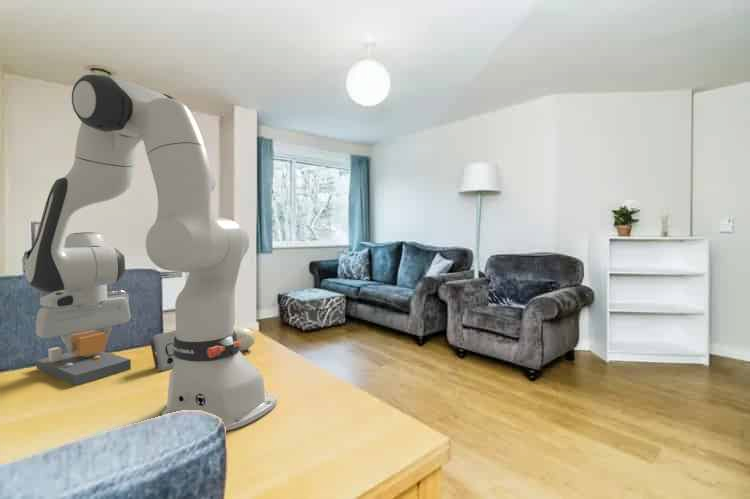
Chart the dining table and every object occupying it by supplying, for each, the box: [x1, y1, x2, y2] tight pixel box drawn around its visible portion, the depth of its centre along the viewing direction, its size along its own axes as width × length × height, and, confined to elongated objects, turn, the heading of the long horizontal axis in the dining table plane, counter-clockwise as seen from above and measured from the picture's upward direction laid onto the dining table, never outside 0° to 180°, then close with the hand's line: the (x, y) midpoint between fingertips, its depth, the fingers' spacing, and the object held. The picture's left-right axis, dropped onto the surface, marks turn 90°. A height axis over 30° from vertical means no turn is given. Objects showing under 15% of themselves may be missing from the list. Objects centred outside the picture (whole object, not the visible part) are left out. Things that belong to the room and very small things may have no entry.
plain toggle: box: [47, 346, 63, 362], centre depth 94 cm, size 2×2×3 cm
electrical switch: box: [149, 329, 176, 372], centre depth 100 cm, size 9×5×9 cm, turn 152°
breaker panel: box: [36, 350, 132, 387], centre depth 96 cm, size 20×12×3 cm, turn 62°
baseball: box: [233, 327, 256, 352], centre depth 112 cm, size 7×7×7 cm
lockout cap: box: [68, 329, 107, 356], centre depth 98 cm, size 6×6×4 cm
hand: (87, 346), depth 98 cm, fingers closed on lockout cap, 6 cm apart
